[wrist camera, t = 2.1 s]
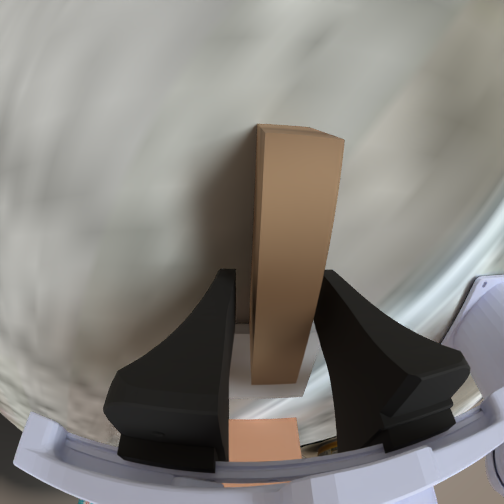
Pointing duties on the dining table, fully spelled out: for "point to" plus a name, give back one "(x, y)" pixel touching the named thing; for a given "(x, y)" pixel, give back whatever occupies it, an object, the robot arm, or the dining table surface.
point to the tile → (263, 442)
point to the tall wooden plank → (286, 260)
